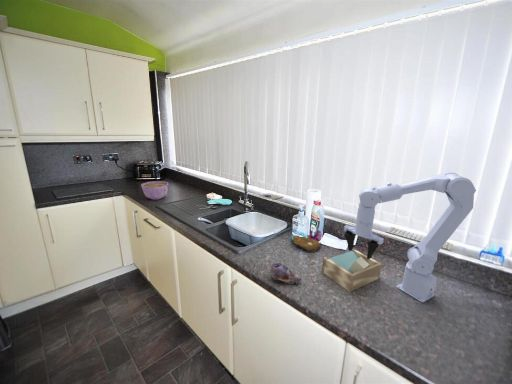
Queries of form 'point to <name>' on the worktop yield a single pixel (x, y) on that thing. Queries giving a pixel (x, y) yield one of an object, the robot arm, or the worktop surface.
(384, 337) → the worktop surface
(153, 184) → the bowl of food
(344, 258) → the trapdoor
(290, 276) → the purple lumpy piece
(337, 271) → the trapdoor frame
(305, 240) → the decorative rock
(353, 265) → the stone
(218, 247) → the worktop surface
